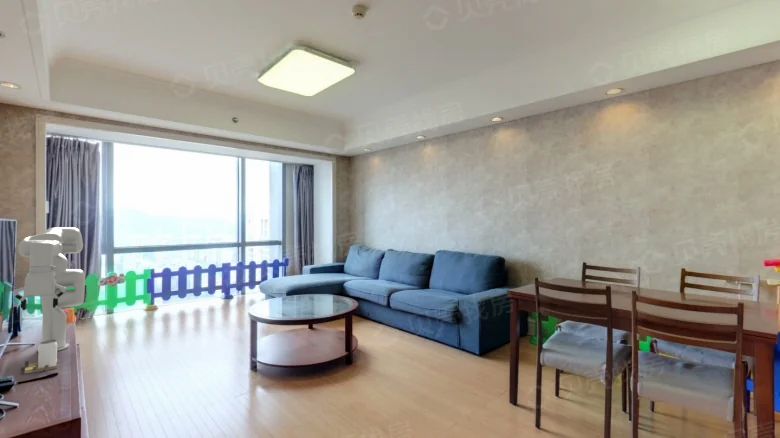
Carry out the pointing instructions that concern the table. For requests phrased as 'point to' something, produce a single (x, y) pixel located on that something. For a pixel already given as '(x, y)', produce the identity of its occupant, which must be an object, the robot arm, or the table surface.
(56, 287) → the robot arm
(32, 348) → the table surface
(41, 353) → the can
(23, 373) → the comb channel
